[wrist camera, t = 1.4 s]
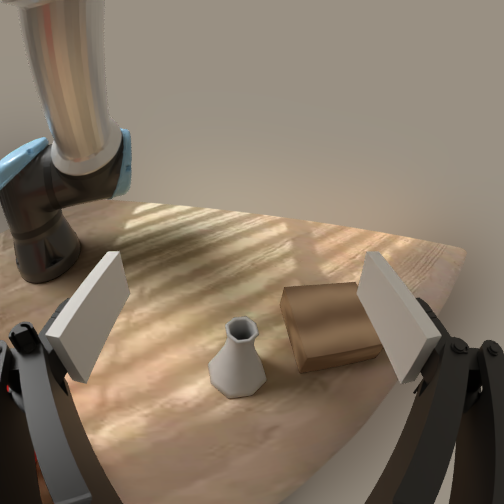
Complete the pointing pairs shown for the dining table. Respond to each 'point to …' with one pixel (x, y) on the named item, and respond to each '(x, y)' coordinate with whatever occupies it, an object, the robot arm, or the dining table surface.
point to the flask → (238, 361)
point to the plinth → (328, 326)
